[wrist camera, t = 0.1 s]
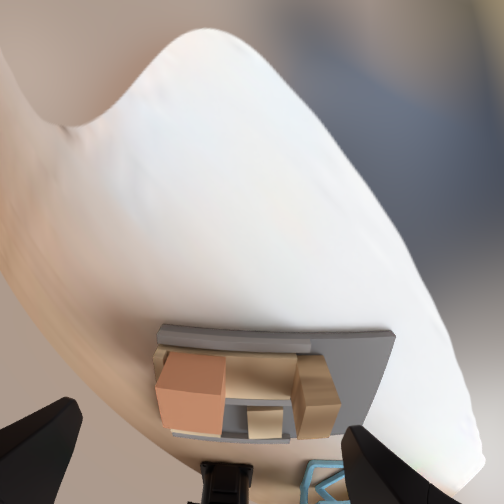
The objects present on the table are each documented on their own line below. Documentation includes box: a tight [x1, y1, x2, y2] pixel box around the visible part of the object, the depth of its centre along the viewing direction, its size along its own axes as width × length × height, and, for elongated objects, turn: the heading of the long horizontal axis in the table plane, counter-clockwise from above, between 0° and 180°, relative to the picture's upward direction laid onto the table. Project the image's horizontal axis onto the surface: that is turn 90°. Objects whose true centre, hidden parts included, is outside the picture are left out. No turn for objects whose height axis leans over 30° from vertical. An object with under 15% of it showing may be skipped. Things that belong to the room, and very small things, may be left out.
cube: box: [155, 352, 226, 435], centre depth 19 cm, size 4×4×4 cm
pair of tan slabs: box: [170, 405, 283, 439], centre depth 23 cm, size 5×11×1 cm, turn 87°
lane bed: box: [157, 324, 396, 444], centre depth 23 cm, size 13×20×2 cm, turn 87°
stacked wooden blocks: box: [153, 344, 341, 440], centre depth 19 cm, size 5×13×6 cm, turn 87°
